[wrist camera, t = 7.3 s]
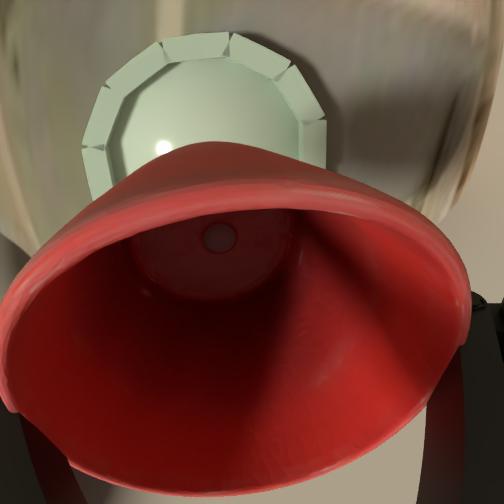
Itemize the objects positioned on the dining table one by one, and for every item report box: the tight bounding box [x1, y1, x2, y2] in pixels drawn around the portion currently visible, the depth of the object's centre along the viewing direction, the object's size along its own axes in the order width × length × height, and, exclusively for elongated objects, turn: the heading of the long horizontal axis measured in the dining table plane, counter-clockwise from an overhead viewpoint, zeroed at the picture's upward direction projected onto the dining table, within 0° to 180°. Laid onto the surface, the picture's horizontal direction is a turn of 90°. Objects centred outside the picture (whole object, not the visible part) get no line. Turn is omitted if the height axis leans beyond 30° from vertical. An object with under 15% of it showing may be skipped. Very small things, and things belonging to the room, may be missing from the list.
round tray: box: [81, 32, 327, 201], centre depth 25 cm, size 20×20×2 cm
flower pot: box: [0, 141, 472, 497], centre depth 10 cm, size 11×11×10 cm
